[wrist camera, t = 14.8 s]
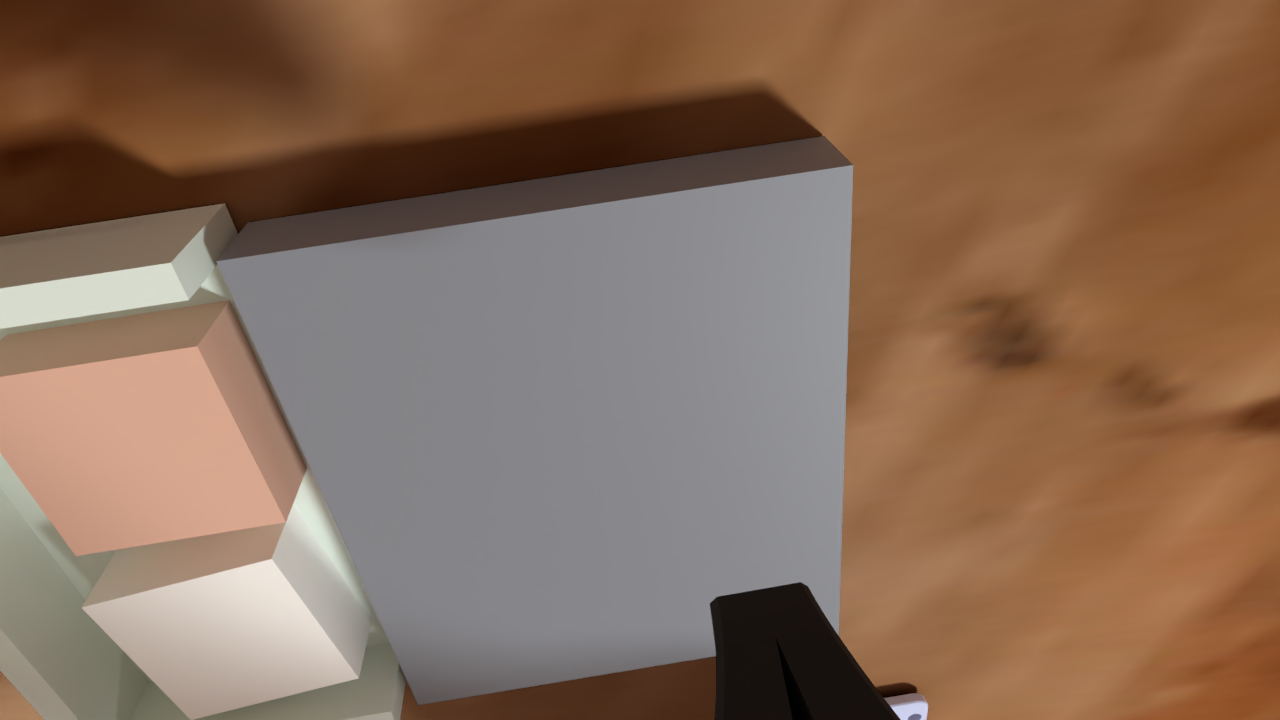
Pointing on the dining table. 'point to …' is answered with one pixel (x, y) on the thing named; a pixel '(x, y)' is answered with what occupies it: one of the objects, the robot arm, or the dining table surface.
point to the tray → (61, 582)
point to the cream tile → (233, 616)
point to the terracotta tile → (146, 428)
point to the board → (569, 403)
